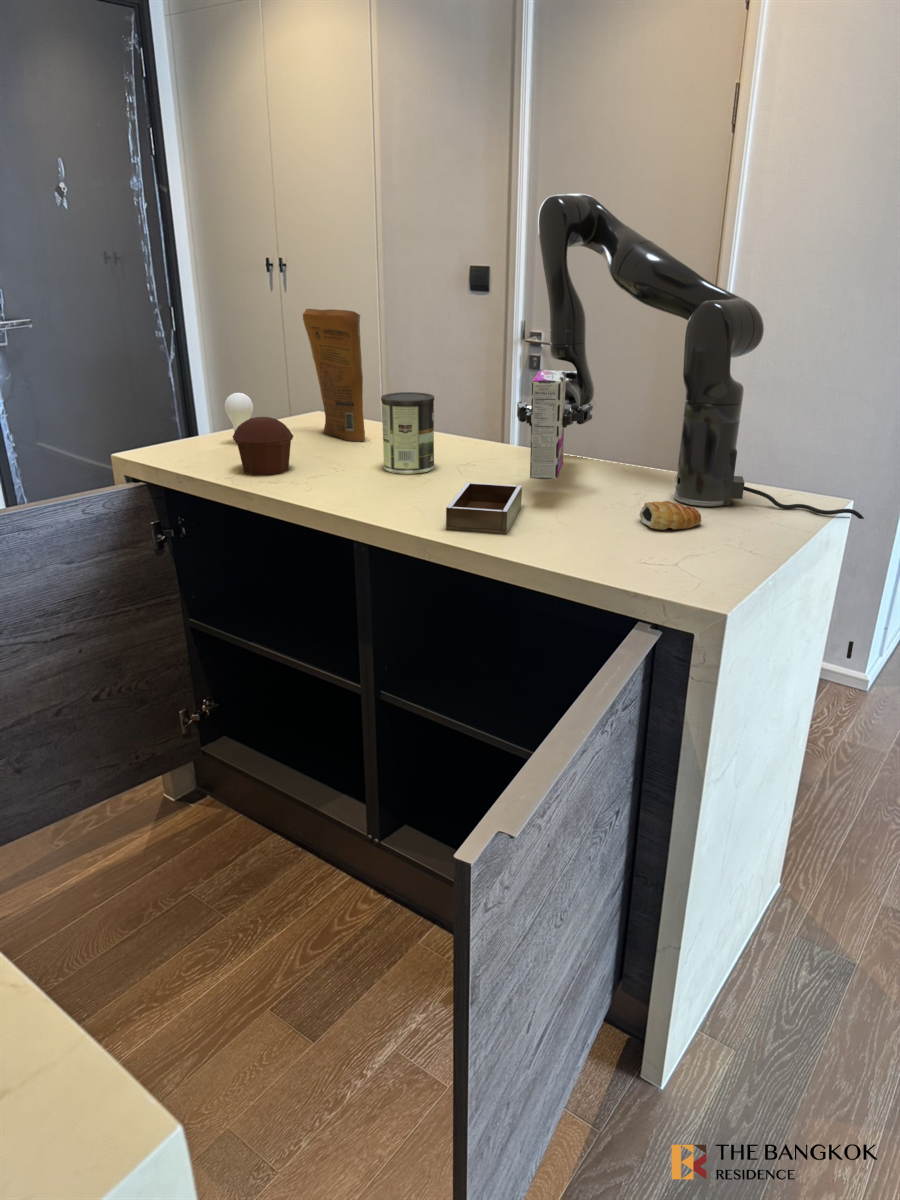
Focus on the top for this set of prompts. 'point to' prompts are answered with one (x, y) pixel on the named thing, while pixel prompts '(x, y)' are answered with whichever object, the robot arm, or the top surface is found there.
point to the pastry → (669, 515)
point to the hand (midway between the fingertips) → (548, 420)
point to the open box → (484, 508)
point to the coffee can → (408, 432)
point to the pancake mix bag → (338, 369)
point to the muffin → (263, 445)
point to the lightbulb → (238, 408)
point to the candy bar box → (547, 424)
